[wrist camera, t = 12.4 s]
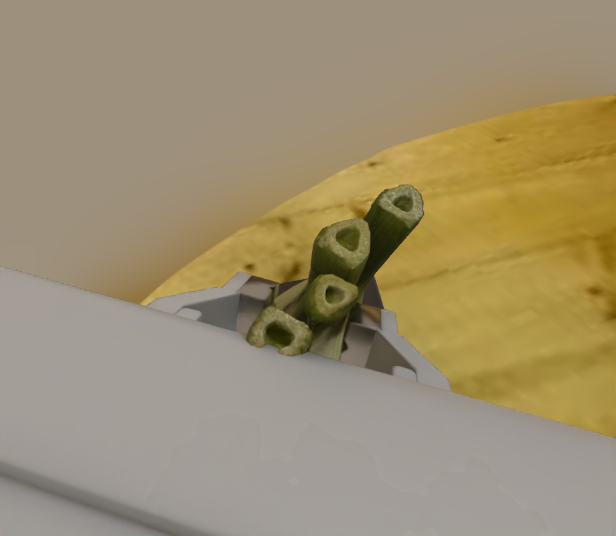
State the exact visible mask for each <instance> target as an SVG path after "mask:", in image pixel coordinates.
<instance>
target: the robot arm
mask: <svg viewBox="0 0 616 536" xmlns="http://www.w3.org/2000/svg"><path fill="white" fill-rule="evenodd" d="M278 291H279V283H278V282H275V281H271V280H268V279H264V278H261V277H257V276H253V275H251V274H247V273H242V272H238V273H237V274H236V275H235V276H234V277H232V278H231V279H230V280H229V281H228V282H227V283H226V284H225V285H224V286H223V287H222V288H219V287H215V288H210V289H204V290H199V291H193V292H188V293H183V294H177V295H172V296H167V297H161V298H156V299H155V300H154V301H152V302H151V303H149V304H148V305H147V306H142V305H138V304H135V303H131V302H128V301H124V300H121V299H117V298H113V297H110V296H106V295H103V294H99V293H95V292H92V291H88V290H85V289H81V288H77V287H74V286H70V285H67V284H63V283H60V282H56V281H53V280H49V279H45V278H42V277H38V276H35V275H31V274H27V273H24V272H20V271H17V270H13V269H10V268H6V267H2V266H0V536H616V438H614V437H611V436H607V435H603V434H600V433H596V432H593V431H589V430H585V429H582V428H578V427H575V426H571V425H568V424H564V423H560V422H557V421H553V420H550V419H546V418H543V417H539V416H535V415H532V414H528V413H525V412H521V411H517V410H514V409H510V408H507V407H503V406H500V405H496V404H492V403H489V402H485V401H482V400H478V399H475V398H471V397H467V396H464V395H460V394H457V393H453V392H452V390H451V387H450V383H449V380H448V378H446V377H445V376H444V375H443V374H442V373H441V372H440V371H439V370H438V369H437V368H436V367H435V366H434V365H432V364H431V363H430V362H429V361H428V360H427V359H426V358H425V357H424V356H423V355H422V354H421V353H420V352H418V351H417V350H416V349H415V348H414V347H413V346H412V345H411V344H410V343H409V342H408V341H407V340H405V339H404V338H403V337H402V336H399V335H398V331H397V322H396V313H395V312H394V311H389V310H384V309H381V308H378V307H373V306H369V305H365V304H361V303H356V304H355V305H354V307H353V308H352V309H351V310H350V312H349V317H348V322H347V324H346V327H345V331H344V334H343V338H342V343H341V348H340V350H341V351H340V354H339V359H338V360H335V359H331V358H328V357H324V356H321V355H317V354H314V353H310V352H306V353H305V354H302V355H296V356H284V355H281V354H279V353H278V350H279V349H278V348H276V347H274V346H272V345H269V344H267V345H264V346H263V347H262V348H256V347H255V346H251V345H250V344H249V343H248V342H247V340H246V338H247V333H248V331H249V328H250V326H251V324H252V323H253V321H255V319H256V318H257V317H258V315H259V313H260V312H261V311H262V310H264V309H265V308H267V307H268V306H274V307H275V308H276V304H275V302H274V300H275V299H276V297H277V295H278Z"/></svg>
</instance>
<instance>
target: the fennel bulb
mask: <svg viewBox="0 0 616 536" xmlns="http://www.w3.org/2000/svg"><path fill="white" fill-rule="evenodd" d="M423 215H424V211H423V200H422V197H421V193H419V192H418V191H417V189H415V188H414V187H413V186H412V185H399V186H398V187H396V188H392V189H385V190H384V191H383V192H382V193H381V194H379V196H378V197H377V198H376V200H375V201H374V203H373V204H372V205H371V208H370V210H369V212H368V213H367V215H366V217H365V218H364V220H362V219H358V218H355V219H350V220H343V221H341V222H337V223H335V224H332V225H331V226H330V227H325V228H323V229H322V230H321V231H320V233H319V234H318V236H317V237H316V239H315V241H314V244H313V250H312V256H311V257H312V258H311V269H310V273H309V279H307V280H305V281H303V282H301V283H299V284H297V285H295V286H293V287H292V288H290V289H288V290H287V291H286V292H284V293H282V294H281V295H279V296H278V297H277V298H276V299H275V300H274V302H275V304H276V308H275V307H274V306H268V307H267V308H265V309H264V310H262V311H261V312H260V313H259V315H258V317H257V318H256V319H255V321H253V323H252V324H251V326H250V328H249V331H248V333H247V338H246V340H247V342H248V343H249V344H250V345H251V346H255V347H256V348H262V347H263V346H264V345H267V344H269V345H272V346H274V347H276V348H278V349H279V350H278V353H279V354H281V355H284V356H296V355H302V354H305V353H306V352H310V353H314V354H317V355H321V356H324V357H328V358H331V359H335V360H338V359H339V354H340V351H341V350H340V348H341V343H342V338H343V334H344V331H345V327H346V324H347V322H348V317H349V312H350V310H351V309H352V308H353V307H354V305H355V304H356V303H361V304H362V299H363V294H364V289H365V288H366V286H367V284H368V283H369V281H370V280H371V279H372V277H373V276H374V275H375V273H376V272H377V271H378V270H379V268H380V267H381V266H382V265H383V264H384V263H385V261H386V260H387V259H388V258H389V257H390V255H391V254H392V253H393V252H394V251H395V250H396V249H397V247H398V246H399V245H400V244H401V243H402V242H403V241H404V239H405V238H406V237H407V236H408V235H409V234H410V233H411V232H412V230H413V229H414V228H415V227H416V226H417V225H418V223H419V222H420V220H421V219H422V217H423Z"/></svg>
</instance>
